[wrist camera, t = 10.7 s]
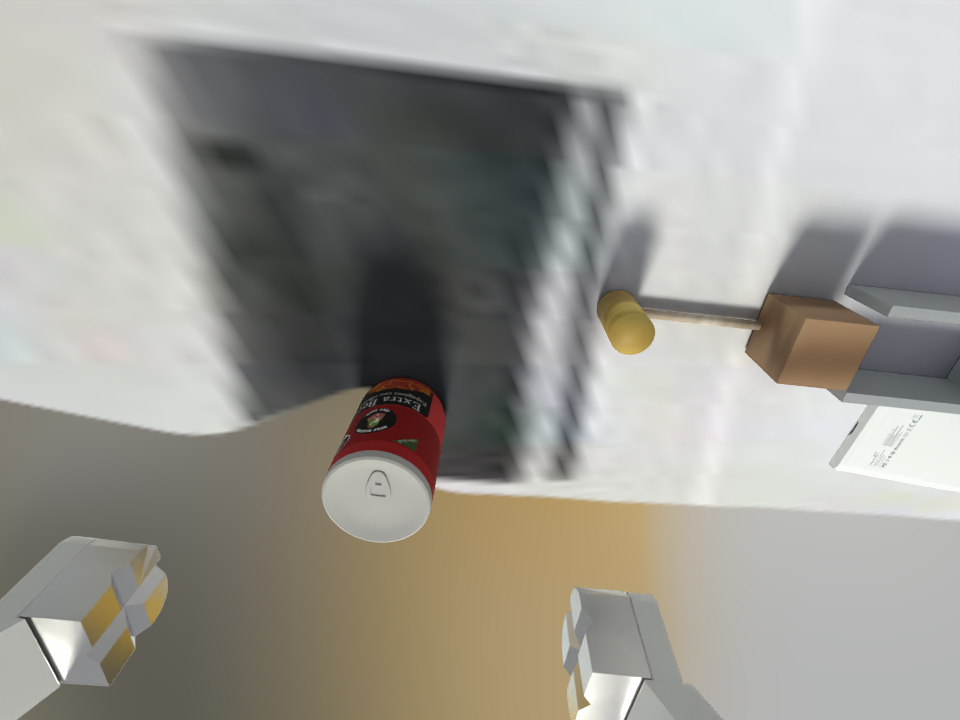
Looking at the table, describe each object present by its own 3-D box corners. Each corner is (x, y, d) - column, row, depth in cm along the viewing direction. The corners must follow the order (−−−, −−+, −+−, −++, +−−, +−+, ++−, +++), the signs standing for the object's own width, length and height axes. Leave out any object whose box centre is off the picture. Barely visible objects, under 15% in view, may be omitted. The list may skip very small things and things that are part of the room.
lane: (849, 284, 36) (893, 305, 32) (1006, 301, 36) (1069, 324, 32) (807, 372, 39) (841, 402, 35) (950, 387, 39) (1001, 418, 35)
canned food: (437, 369, 40) (417, 450, 31) (454, 444, 44) (441, 539, 34) (350, 379, 41) (304, 462, 31) (374, 453, 45) (339, 548, 35)
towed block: (604, 275, 36) (619, 298, 31) (833, 300, 36) (880, 326, 32) (590, 335, 38) (602, 364, 34) (806, 358, 38) (846, 390, 34)
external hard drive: (949, 482, 45) (824, 459, 44) (1010, 410, 41) (874, 384, 40) (964, 494, 43) (835, 471, 43) (1029, 421, 39) (888, 394, 39)
